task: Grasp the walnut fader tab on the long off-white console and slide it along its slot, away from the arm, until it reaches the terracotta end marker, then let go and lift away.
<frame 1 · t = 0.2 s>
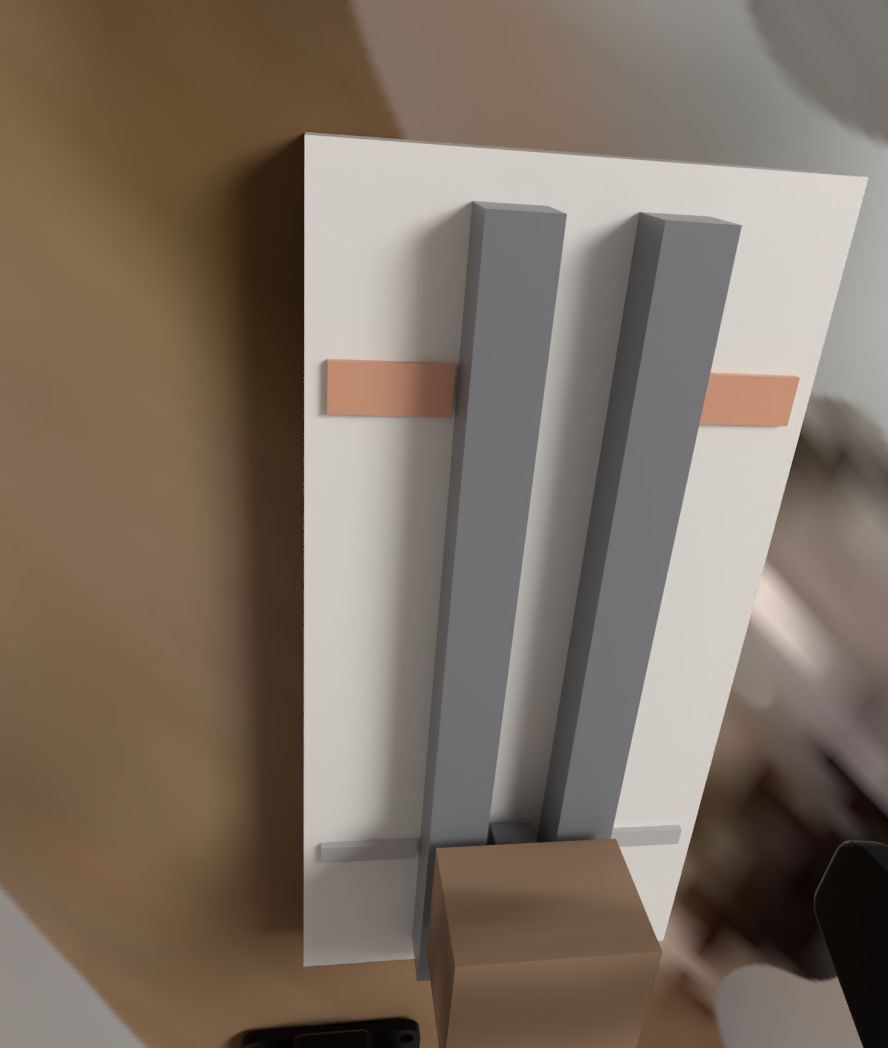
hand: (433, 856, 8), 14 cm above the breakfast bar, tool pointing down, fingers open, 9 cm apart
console: (516, 607, 24), on the breakfast bar
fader: (526, 923, 23), point 5 cm above the breakfast bar, slide at 0.0 cm
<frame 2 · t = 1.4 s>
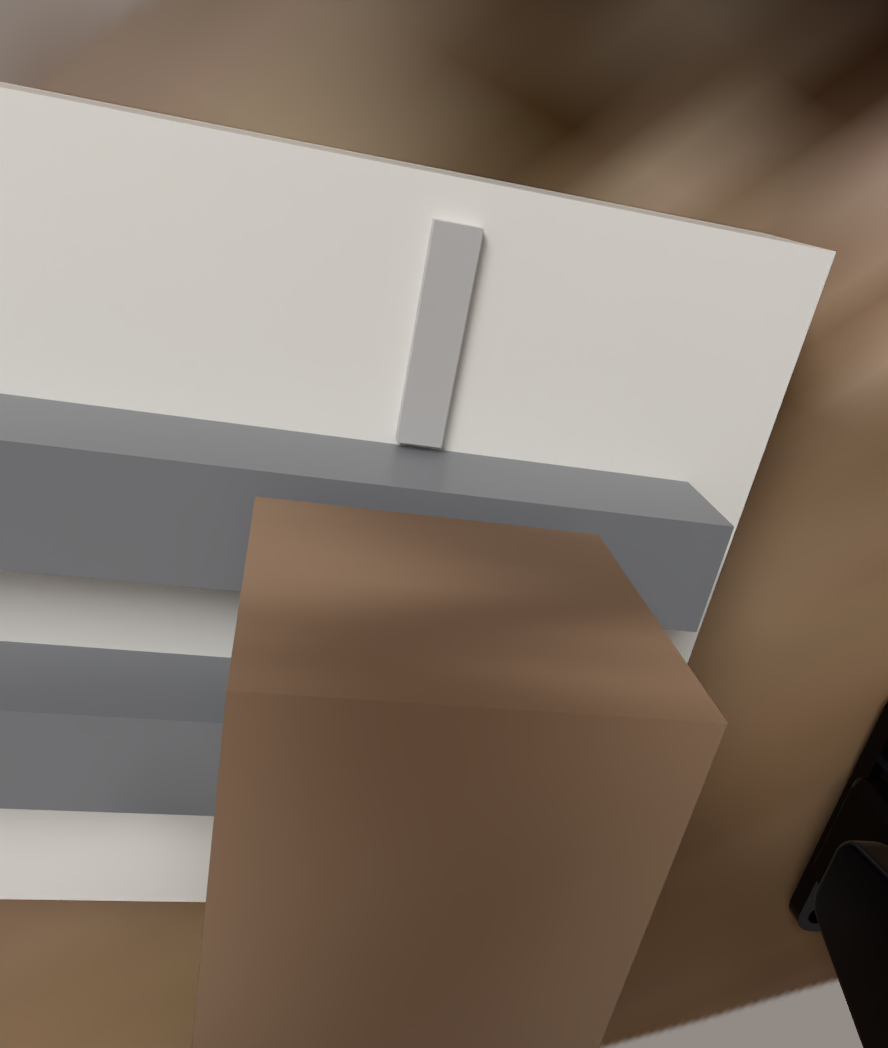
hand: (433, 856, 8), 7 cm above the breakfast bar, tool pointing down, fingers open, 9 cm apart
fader: (405, 742, 10), point 5 cm above the breakfast bar, slide at 0.0 cm
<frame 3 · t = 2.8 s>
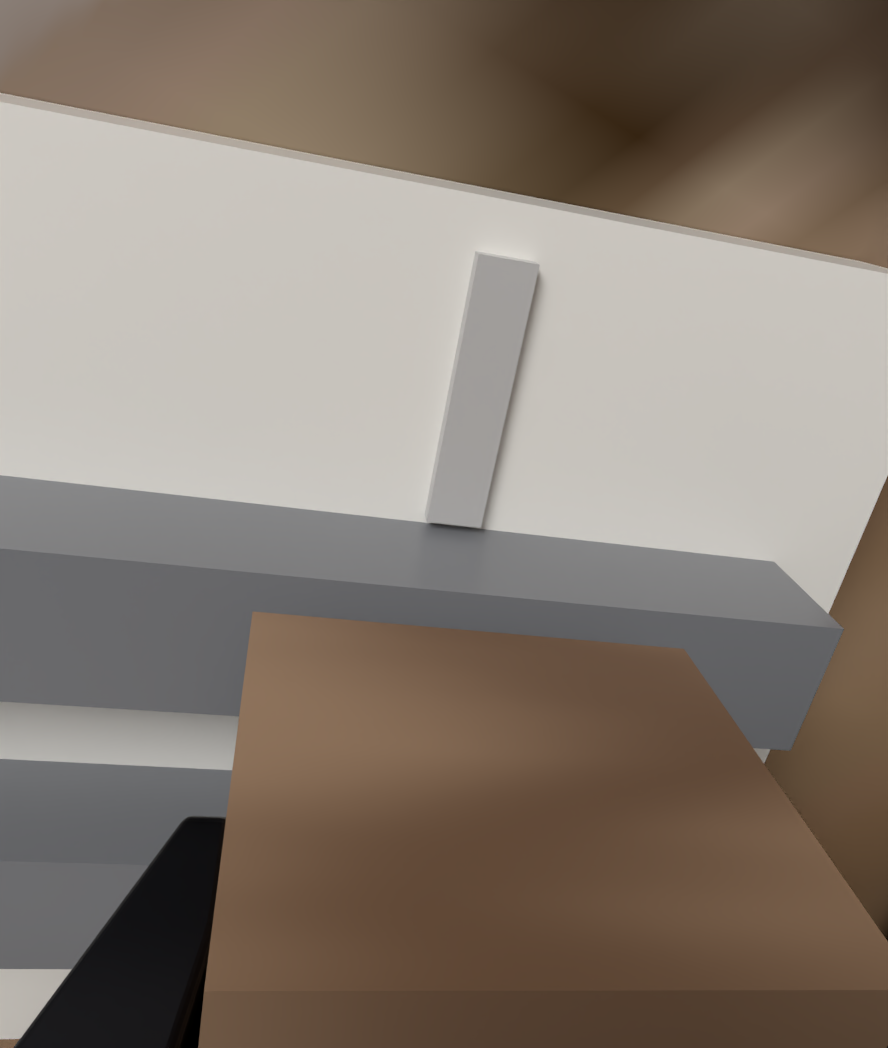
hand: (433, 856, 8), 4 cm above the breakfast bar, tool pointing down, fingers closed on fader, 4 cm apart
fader: (442, 913, 8), point 5 cm above the breakfast bar, slide at 0.0 cm, touching gripper
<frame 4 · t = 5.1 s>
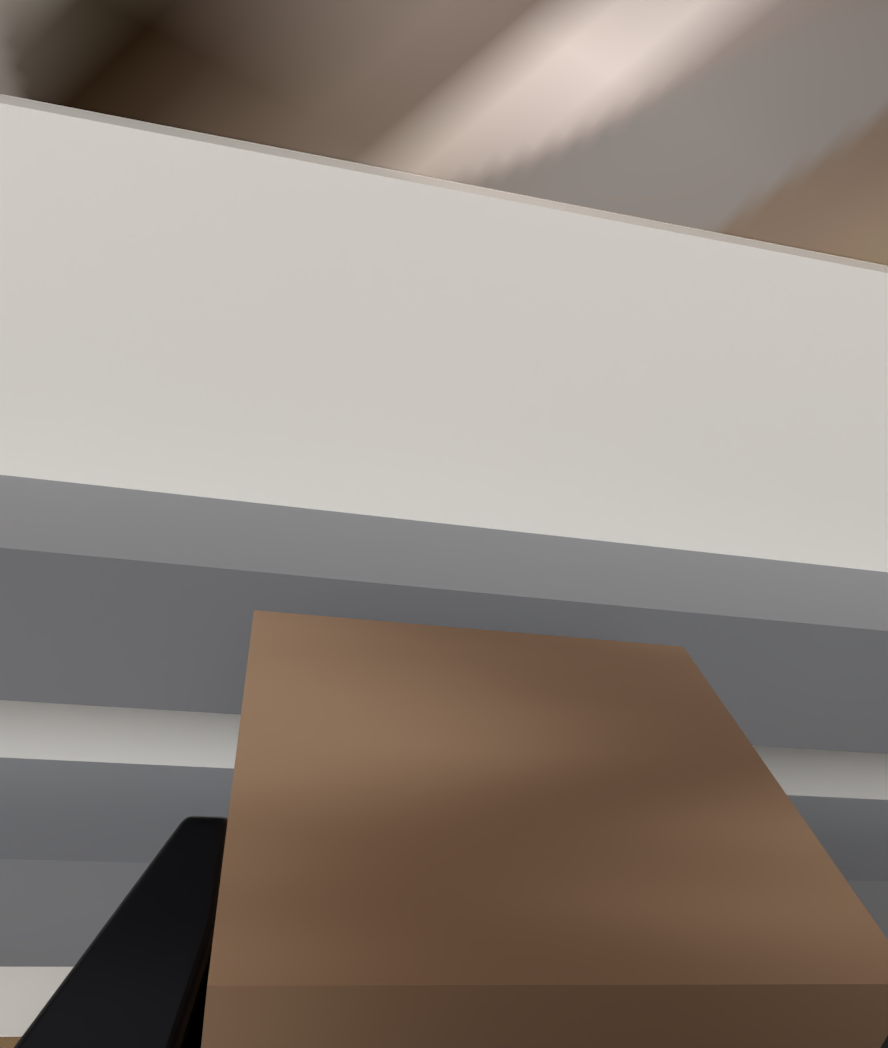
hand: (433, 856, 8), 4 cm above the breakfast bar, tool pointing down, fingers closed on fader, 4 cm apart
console: (484, 633, 12), on the breakfast bar
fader: (443, 910, 8), point 5 cm above the breakfast bar, slide at 8.3 cm, touching gripper
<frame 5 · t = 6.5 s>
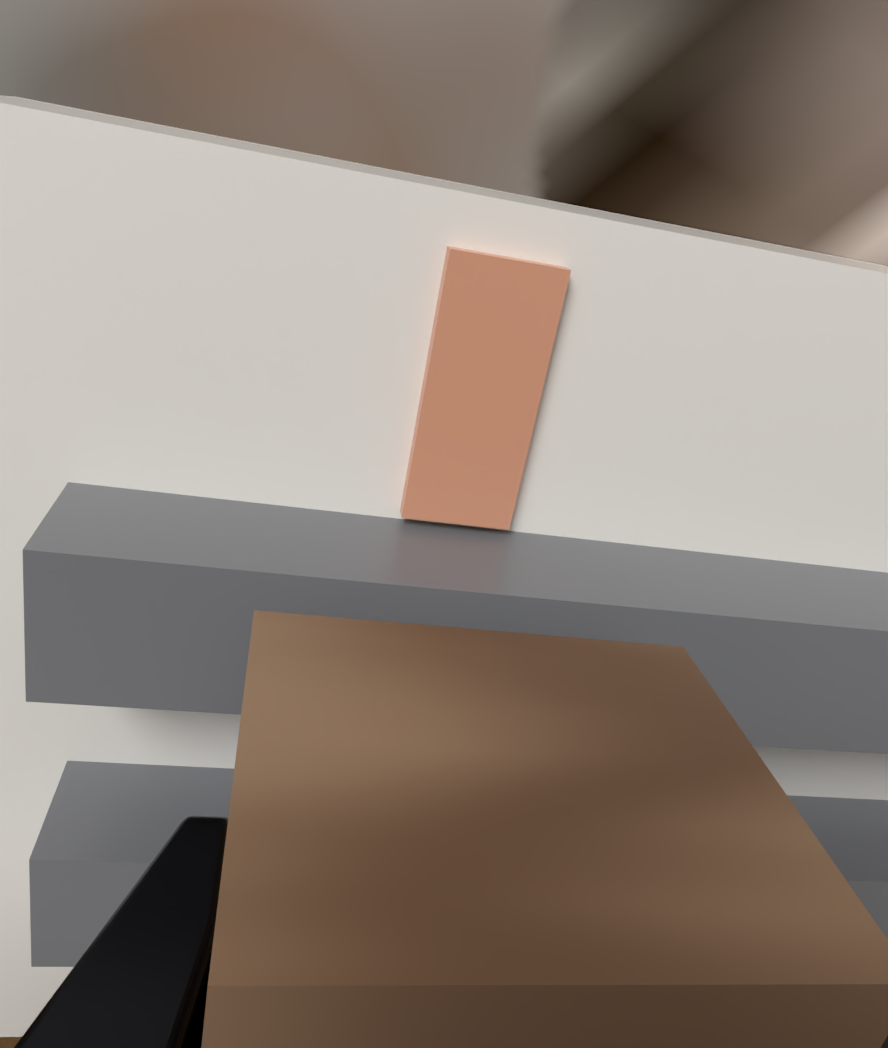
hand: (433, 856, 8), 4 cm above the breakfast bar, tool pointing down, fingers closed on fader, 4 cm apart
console: (826, 662, 14), on the breakfast bar
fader: (443, 910, 8), point 5 cm above the breakfast bar, slide at 14.0 cm, touching gripper
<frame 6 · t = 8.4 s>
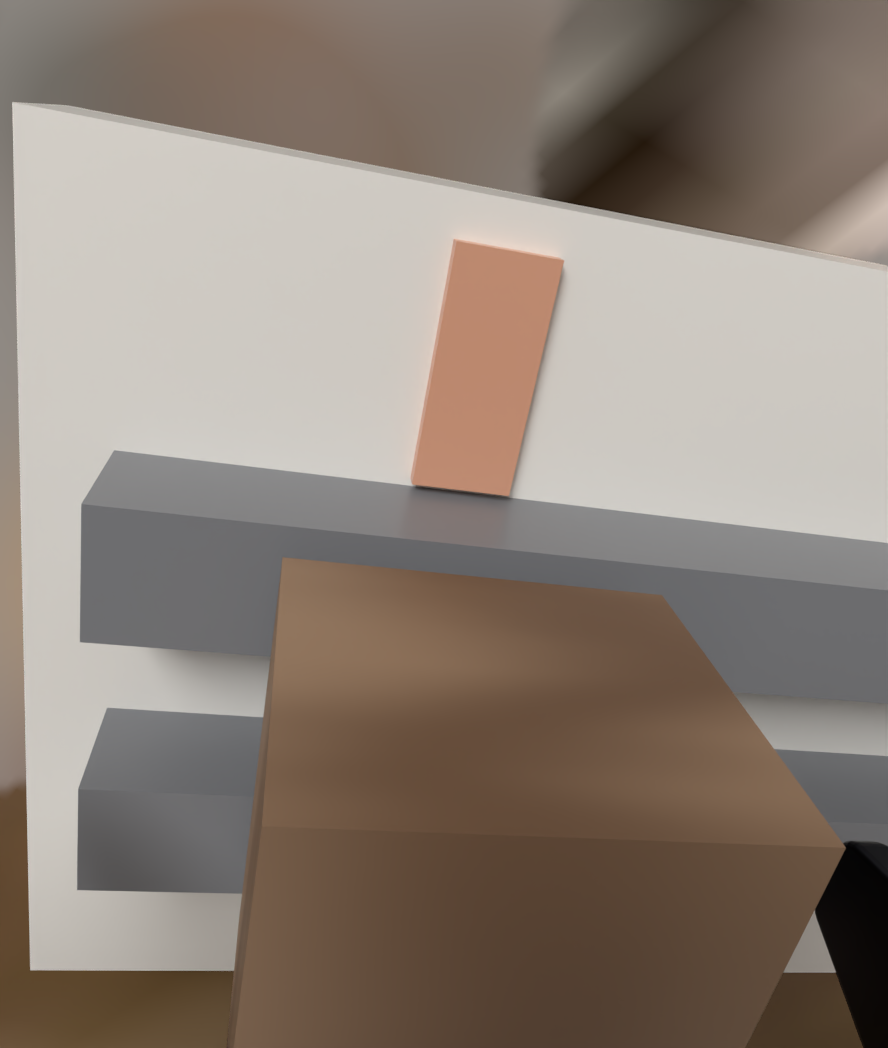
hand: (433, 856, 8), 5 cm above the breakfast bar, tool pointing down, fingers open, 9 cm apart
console: (804, 630, 15), on the breakfast bar
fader: (448, 827, 9), point 5 cm above the breakfast bar, slide at 14.0 cm
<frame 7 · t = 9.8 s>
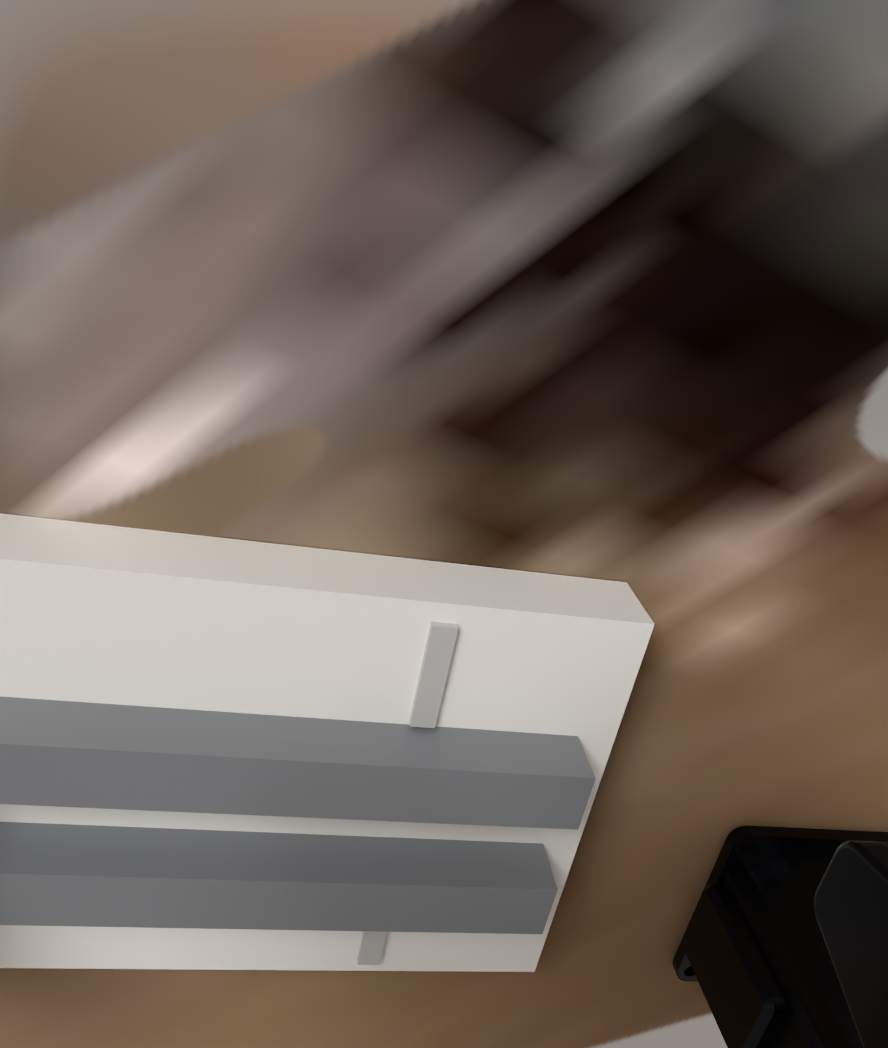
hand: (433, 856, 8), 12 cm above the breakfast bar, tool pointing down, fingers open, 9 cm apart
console: (126, 738, 22), on the breakfast bar
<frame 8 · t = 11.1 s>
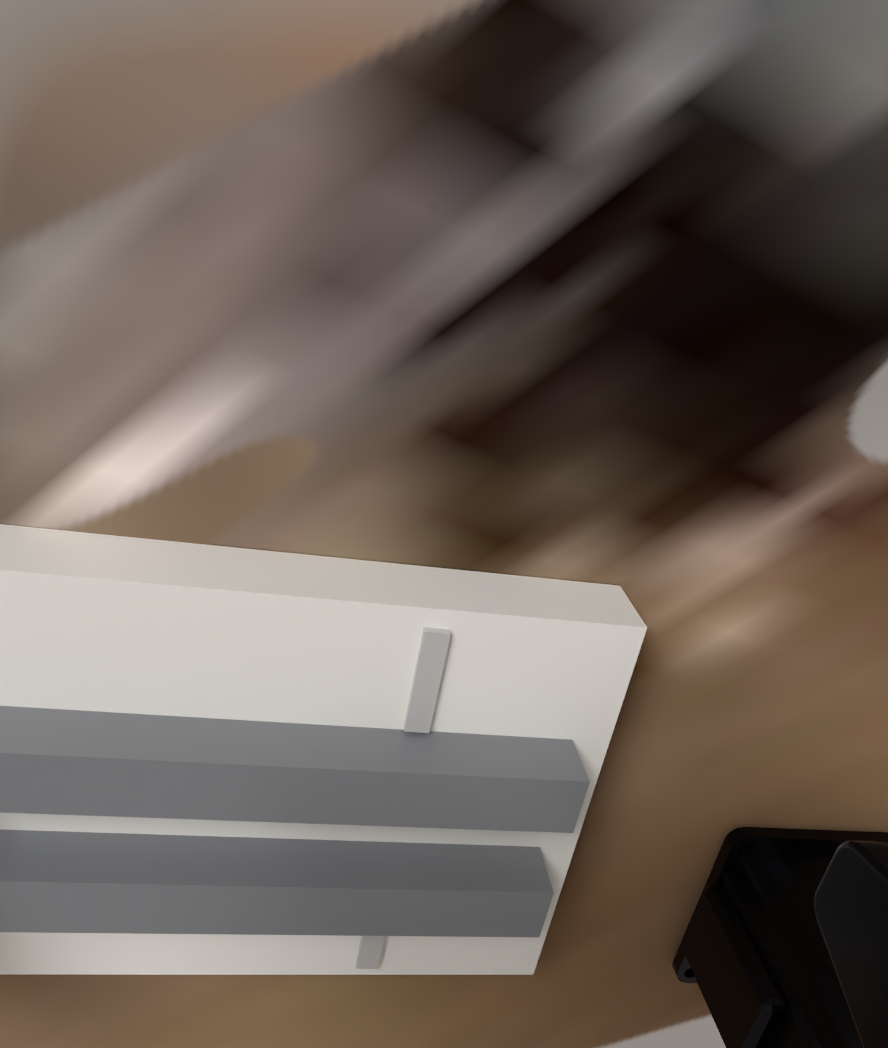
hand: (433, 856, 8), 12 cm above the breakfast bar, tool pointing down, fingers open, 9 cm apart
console: (123, 744, 22), on the breakfast bar
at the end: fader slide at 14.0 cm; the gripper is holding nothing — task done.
